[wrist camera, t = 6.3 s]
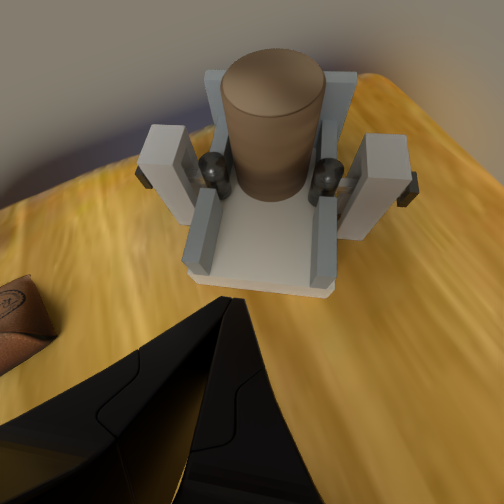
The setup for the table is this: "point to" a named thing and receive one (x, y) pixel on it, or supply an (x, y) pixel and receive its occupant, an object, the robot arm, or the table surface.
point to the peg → (272, 120)
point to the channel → (275, 213)
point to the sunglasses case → (22, 323)
